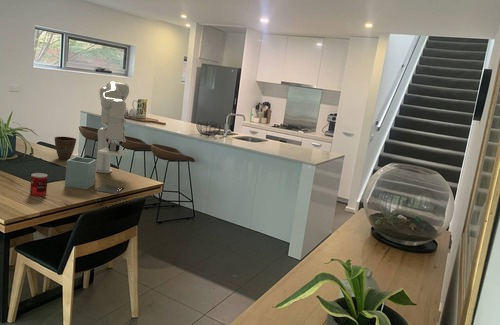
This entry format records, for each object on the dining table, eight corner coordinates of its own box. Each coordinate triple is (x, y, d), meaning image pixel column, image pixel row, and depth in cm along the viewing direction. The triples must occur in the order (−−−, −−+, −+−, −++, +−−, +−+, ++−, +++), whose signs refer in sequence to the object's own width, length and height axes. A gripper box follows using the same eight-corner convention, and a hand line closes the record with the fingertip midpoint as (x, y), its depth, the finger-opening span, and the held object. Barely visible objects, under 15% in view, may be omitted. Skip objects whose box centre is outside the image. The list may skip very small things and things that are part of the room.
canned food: (33, 191, 212) (35, 172, 210) (48, 193, 213) (50, 174, 211) (27, 195, 205) (28, 175, 203) (42, 197, 206) (44, 177, 204)
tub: (73, 180, 242) (75, 156, 239) (94, 184, 243) (96, 159, 240) (64, 186, 229) (66, 160, 227) (86, 189, 230) (89, 163, 227)
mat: (102, 184, 244) (102, 184, 244) (124, 188, 245) (124, 187, 245) (94, 190, 230) (94, 190, 230) (117, 194, 231) (117, 193, 231)
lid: (105, 150, 240) (106, 140, 238) (127, 153, 240) (128, 143, 239) (97, 154, 226) (98, 143, 225) (121, 157, 227) (122, 146, 226)
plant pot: (69, 162, 284) (70, 141, 282) (49, 159, 284) (50, 138, 281) (78, 158, 299) (79, 138, 296) (59, 155, 299) (60, 135, 296)
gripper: (132, 122, 234) (128, 151, 237) (104, 118, 233) (101, 147, 236) (128, 123, 227) (125, 153, 230) (100, 119, 225) (97, 149, 229)
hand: (113, 150), depth 233 cm, fingers closed on lid, 3 cm apart
